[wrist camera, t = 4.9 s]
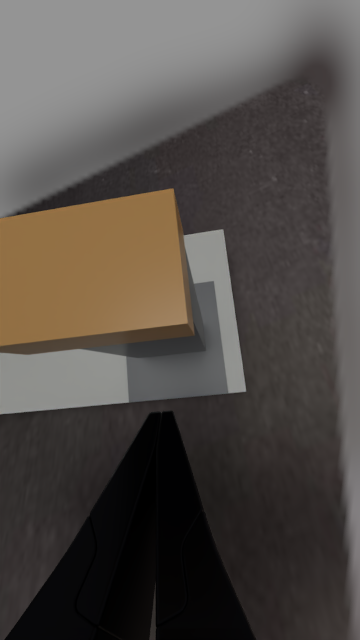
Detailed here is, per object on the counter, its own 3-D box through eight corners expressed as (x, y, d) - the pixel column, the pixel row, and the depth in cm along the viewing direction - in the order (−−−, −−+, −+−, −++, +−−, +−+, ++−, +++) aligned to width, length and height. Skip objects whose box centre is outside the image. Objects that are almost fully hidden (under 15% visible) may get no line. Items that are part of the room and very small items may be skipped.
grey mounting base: (239, 386, 18) (246, 391, 14) (-39, 413, 20) (-104, 423, 16) (221, 257, 19) (223, 228, 15) (-33, 294, 21) (-89, 276, 17)
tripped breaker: (206, 356, 13) (188, 323, 4) (137, 364, 14) (-34, 349, 4) (201, 313, 14) (173, 189, 4) (135, 321, 14) (-26, 223, 5)
